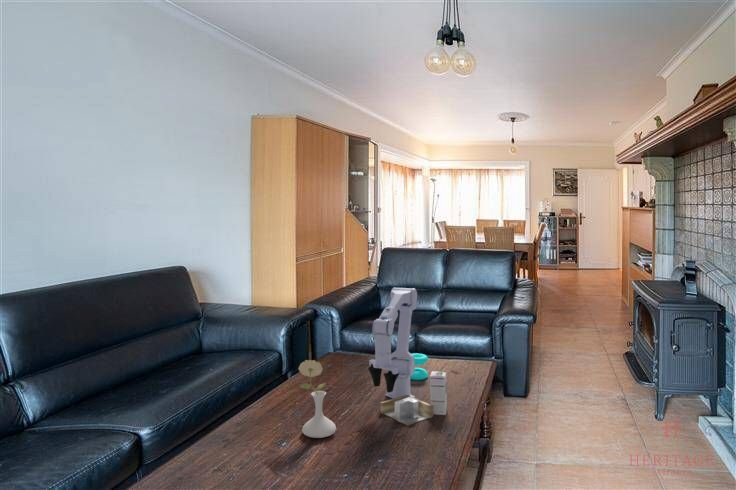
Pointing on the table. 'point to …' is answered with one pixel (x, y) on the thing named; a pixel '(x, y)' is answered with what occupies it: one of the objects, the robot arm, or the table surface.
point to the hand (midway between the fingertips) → (383, 388)
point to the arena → (423, 413)
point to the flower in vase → (316, 404)
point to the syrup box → (438, 392)
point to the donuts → (419, 372)
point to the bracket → (406, 409)
